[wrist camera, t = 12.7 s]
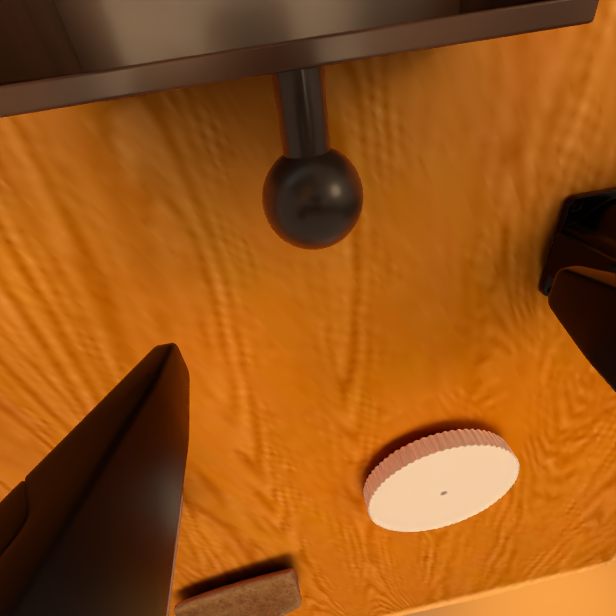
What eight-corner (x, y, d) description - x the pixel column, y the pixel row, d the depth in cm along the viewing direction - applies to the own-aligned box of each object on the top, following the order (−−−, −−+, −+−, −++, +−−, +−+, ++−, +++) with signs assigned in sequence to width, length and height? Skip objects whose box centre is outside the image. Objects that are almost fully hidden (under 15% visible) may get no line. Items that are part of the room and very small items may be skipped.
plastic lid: (336, 502, 35) (342, 530, 33) (408, 408, 29) (421, 435, 27) (448, 509, 40) (459, 533, 38) (532, 429, 33) (552, 453, 31)
